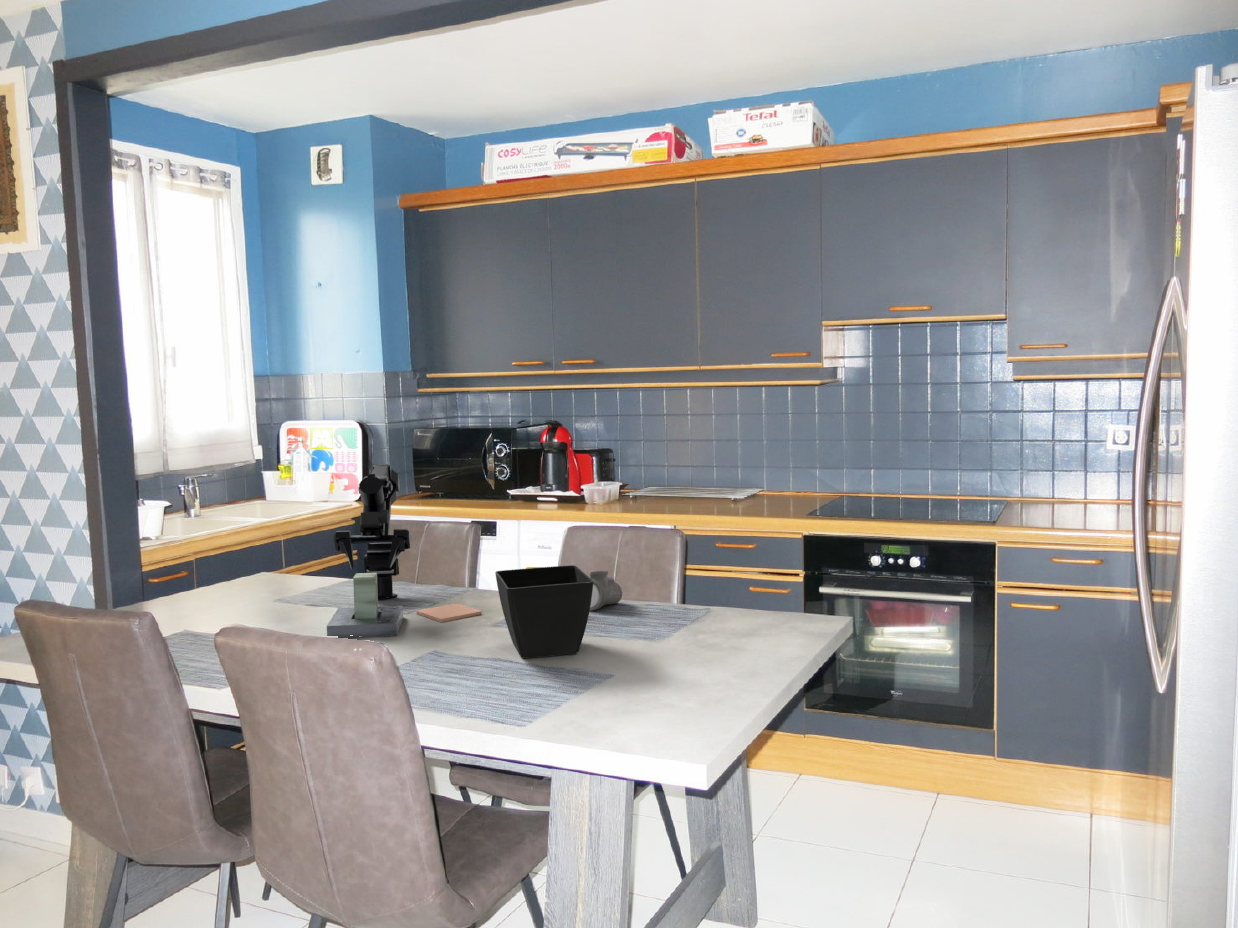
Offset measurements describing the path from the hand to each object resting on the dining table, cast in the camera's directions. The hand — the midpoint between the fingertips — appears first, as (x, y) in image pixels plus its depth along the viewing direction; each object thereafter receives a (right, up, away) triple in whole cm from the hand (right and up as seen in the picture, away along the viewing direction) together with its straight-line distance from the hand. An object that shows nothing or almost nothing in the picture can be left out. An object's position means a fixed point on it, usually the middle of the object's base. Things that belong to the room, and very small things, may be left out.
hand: (371, 567), depth 244 cm
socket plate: (+1, -14, -7) cm, 15 cm away
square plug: (+1, -14, -7) cm, 15 cm away
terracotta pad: (+18, -13, +6) cm, 23 cm away
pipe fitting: (+58, -12, +13) cm, 61 cm away
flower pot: (+46, -16, -27) cm, 55 cm away
